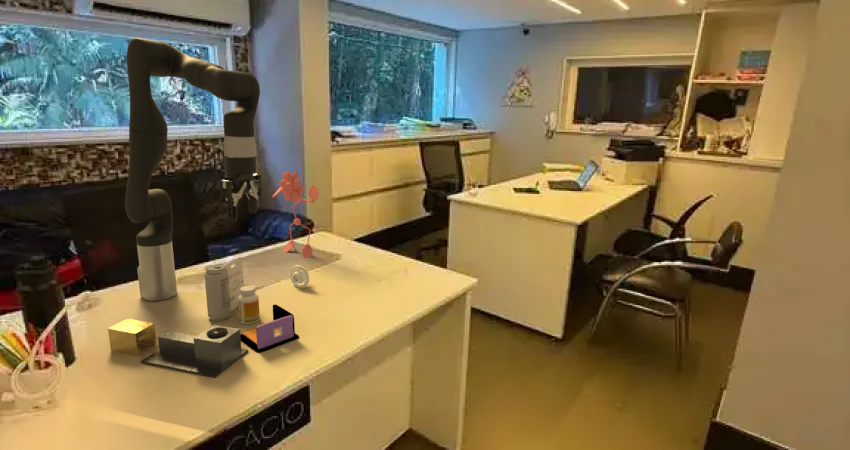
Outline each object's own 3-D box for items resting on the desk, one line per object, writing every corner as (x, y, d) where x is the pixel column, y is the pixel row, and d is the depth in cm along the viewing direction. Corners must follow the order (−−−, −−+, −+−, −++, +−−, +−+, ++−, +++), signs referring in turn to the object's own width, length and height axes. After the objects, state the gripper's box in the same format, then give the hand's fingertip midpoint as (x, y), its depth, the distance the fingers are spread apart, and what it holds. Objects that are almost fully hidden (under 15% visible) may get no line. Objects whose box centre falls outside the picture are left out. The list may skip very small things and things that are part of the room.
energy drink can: (214, 312, 134) (210, 263, 130) (234, 313, 133) (231, 264, 130) (204, 321, 128) (199, 270, 124) (225, 322, 128) (221, 271, 124)
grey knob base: (140, 363, 106) (136, 332, 104) (179, 339, 118) (177, 311, 116) (214, 378, 102) (212, 346, 100) (248, 351, 113) (246, 323, 111)
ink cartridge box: (230, 300, 142) (227, 254, 139) (245, 301, 141) (242, 256, 138) (213, 311, 134) (209, 263, 131) (229, 313, 133) (225, 265, 130)
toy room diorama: (301, 338, 121) (300, 314, 119) (258, 354, 112) (256, 329, 111) (277, 323, 129) (276, 300, 127) (235, 337, 120) (233, 313, 118)
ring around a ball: (286, 287, 154) (286, 264, 152) (298, 282, 159) (298, 260, 157) (305, 292, 150) (304, 268, 148) (316, 287, 155) (316, 264, 153)
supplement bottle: (263, 318, 131) (262, 286, 129) (251, 326, 126) (249, 293, 124) (248, 314, 133) (246, 283, 130) (235, 322, 128) (232, 289, 125)
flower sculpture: (284, 248, 195) (281, 166, 187) (329, 260, 182) (327, 172, 173) (254, 257, 183) (249, 169, 174) (299, 271, 169) (296, 176, 161)
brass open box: (111, 351, 111) (107, 328, 110) (130, 340, 116) (128, 318, 115) (138, 356, 109) (135, 333, 108) (157, 345, 114) (154, 323, 113)
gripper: (244, 151, 123) (246, 209, 127) (208, 155, 110) (212, 221, 114) (269, 153, 122) (270, 212, 126) (236, 158, 108) (239, 224, 112)
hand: (243, 216), depth 120 cm, fingers open, 8 cm apart
